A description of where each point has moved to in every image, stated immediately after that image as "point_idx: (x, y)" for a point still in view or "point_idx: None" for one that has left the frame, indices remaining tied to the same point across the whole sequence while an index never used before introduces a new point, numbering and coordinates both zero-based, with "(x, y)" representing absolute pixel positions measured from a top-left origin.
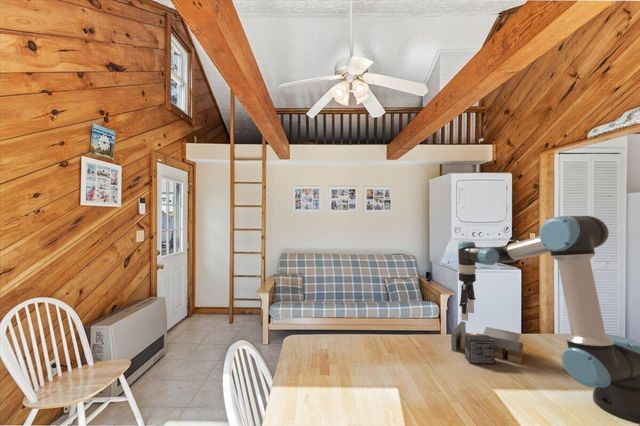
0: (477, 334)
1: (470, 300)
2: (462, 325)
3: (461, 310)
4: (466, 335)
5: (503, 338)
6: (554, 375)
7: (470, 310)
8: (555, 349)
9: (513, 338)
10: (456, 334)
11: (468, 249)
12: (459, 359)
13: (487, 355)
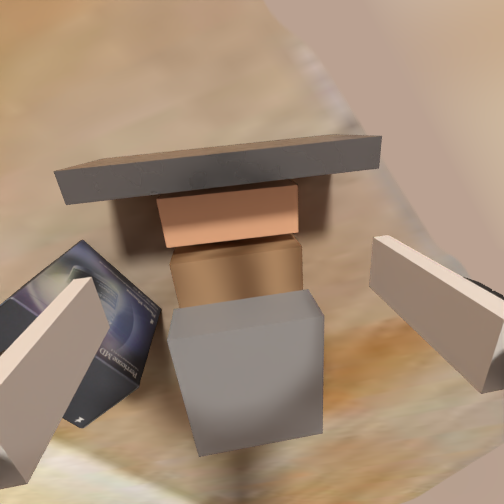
0: (285, 253)
1: (485, 352)
2: (290, 176)
3: (5, 353)
4: (9, 311)
5: (201, 413)
6: (195, 446)
7: (385, 270)
8: (391, 411)
9: (235, 435)
10: (92, 200)
11: None
12: (36, 228)
13: None
